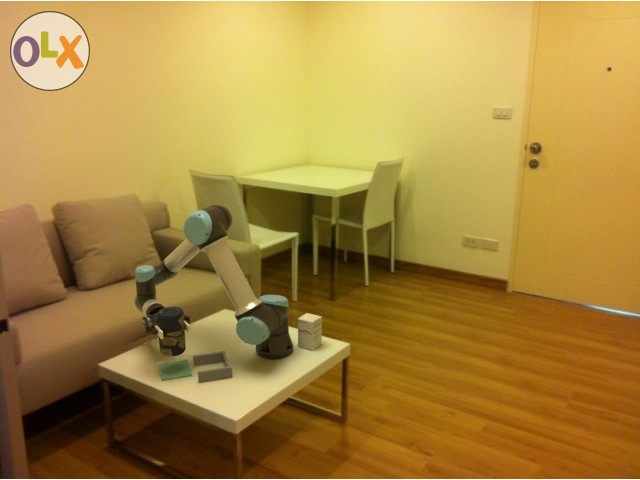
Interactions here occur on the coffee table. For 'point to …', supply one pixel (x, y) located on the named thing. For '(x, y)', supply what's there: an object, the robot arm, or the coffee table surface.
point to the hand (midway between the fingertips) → (175, 332)
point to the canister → (172, 331)
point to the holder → (213, 373)
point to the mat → (175, 370)
